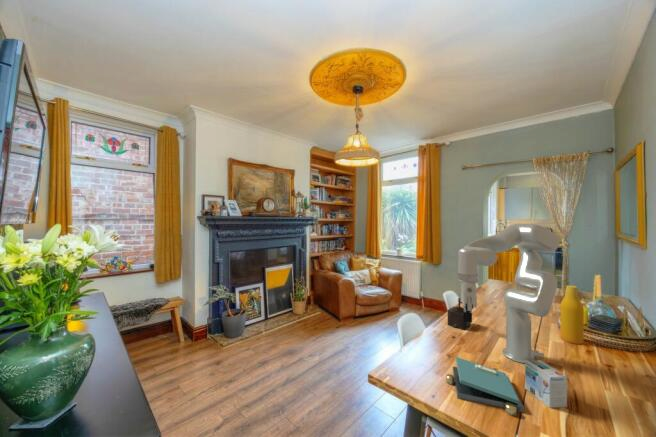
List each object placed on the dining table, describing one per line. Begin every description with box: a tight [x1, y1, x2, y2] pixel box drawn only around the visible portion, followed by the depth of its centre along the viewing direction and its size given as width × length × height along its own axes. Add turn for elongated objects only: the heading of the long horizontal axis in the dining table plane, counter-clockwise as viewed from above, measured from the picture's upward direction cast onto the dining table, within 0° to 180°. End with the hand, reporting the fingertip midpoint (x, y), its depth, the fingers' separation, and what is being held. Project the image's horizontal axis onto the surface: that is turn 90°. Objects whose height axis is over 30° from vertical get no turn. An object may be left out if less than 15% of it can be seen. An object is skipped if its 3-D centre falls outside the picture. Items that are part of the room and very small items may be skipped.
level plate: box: [455, 356, 520, 404], centre depth 100 cm, size 18×17×2 cm
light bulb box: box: [524, 360, 568, 408], centre depth 96 cm, size 11×7×11 cm, turn 5°
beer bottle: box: [559, 284, 585, 345], centre depth 140 cm, size 9×9×29 cm
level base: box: [445, 366, 524, 417], centre depth 101 cm, size 23×24×2 cm
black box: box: [447, 297, 474, 330], centre depth 158 cm, size 16×11×18 cm
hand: (467, 321), depth 111 cm, fingers closed
